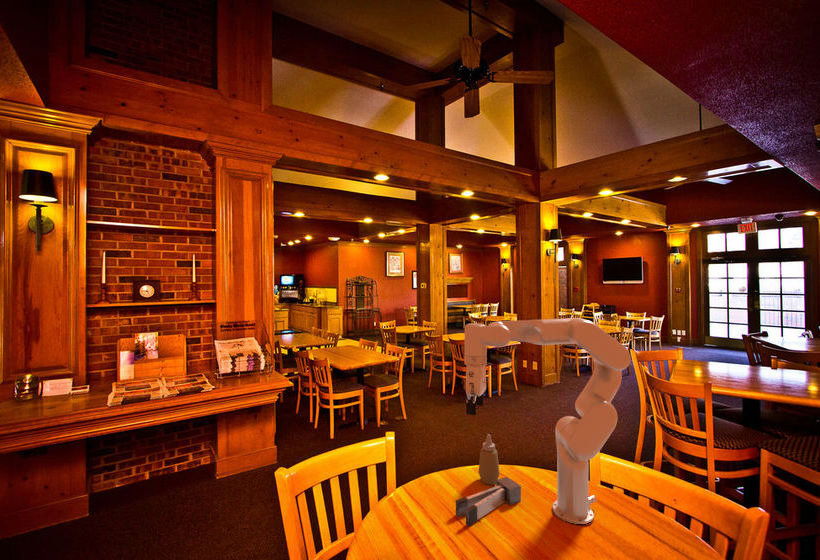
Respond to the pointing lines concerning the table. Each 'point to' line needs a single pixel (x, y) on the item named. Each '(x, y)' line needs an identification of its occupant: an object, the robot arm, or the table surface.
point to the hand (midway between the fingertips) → (475, 409)
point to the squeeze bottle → (488, 463)
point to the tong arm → (484, 506)
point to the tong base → (510, 492)
